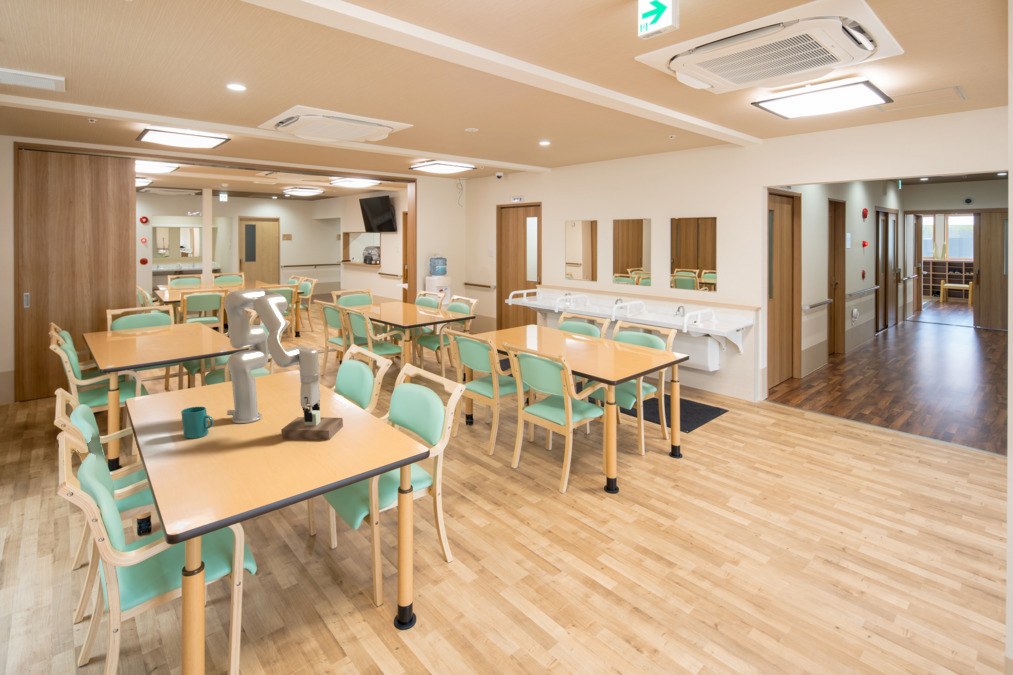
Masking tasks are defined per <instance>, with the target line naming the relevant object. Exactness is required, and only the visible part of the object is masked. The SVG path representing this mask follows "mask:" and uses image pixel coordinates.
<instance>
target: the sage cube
mask: <svg viewBox="0 0 1013 675" xmlns="http://www.w3.org/2000/svg"><path fill="white" fill-rule="evenodd" d="M311 412H312V422H305V421H304V424H305V425H311V426H316V425H318V424H319V423H320V422H321V419H320V417H321V409H320V410H312V409H311Z"/></svg>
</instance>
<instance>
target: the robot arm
mask: <svg viewBox="0 0 1013 675" xmlns="http://www.w3.org/2000/svg"><path fill="white" fill-rule="evenodd" d="M223 303H224V304H223V305H224V310H225V312H226V316H227V325H228V326H227V327H228V336H229V343H230V345H231V347H232V348H234V349H237V350H240V349H241V350H240V351H237V352H233V353H232V354H231V355H230V356H228V358H227V366H228V370H229V373H230V377H231V384H232V386H231V387H232V396H233V407H234V409H227V412H226V415H227V416H232V417H231V422H232V423H235V424H248V423H254V422H257V421H260V420H261V419H262V418H263V414H262V413H260V412H259V408H258V396H257V382H256V379H255V376H254V375H253V374H252V373H251V371H255V370H258V369H262V368H264V367H266V366H267V365H268V362H269V355H270V357H271V358H272V360H273V361H274V362H275V364H276V365H277V366H279V367H280V368H284V369H285V368H289V367H293V366H297V365H299V379H300V383H301V384H300V392H299V393H300V396H299V397H300V400H299V401H300V407H301V408H302V411H303V417H304V421H305V422H312V412H311V410H320V411H321V408H320V407H321V404H320V403H321V390H320V381H321V380H320V366H319V351H318V350H317V349H315V348H308V347H305V346H302V345H300V346H299V345H298V346H293V347H288V348H284V347H283V346H282V344H281V342H280V340H279V338H280V337H279V335H280V334H282V332H284V331H285V330H286V329H287V328H288V326H289V325H288V324H289V323H288V321H287V319H286V318H285V316H284V315H283V314H282V313H284V312H286V311H287V309H288V307H289V303H288V301H287V298H285V296H284V295H282V294H281V293H280V292H279V293H278V292H276V291H273V290H269V289H266V288H261V287H259V288H249V289H247V288H246V289H238V290H234V291H233V290H232V291H231V292H229V293H227V295H226V296H225V298H224V302H223ZM249 309H251V310H252V309H254V310H255V313H256V314H257V317H258V318H259V319H260V321H261V323H262V324H263V326H264V327H265V329H266V330H265V329H264V327H262V326H261V325H258V324H251V325H250V317H249V314H248V313H247V311H246V310H249ZM266 331H267V332H268V335H267V333H266ZM246 348H250V349H246ZM242 349H245V350H242Z"/></svg>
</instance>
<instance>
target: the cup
mask: <svg viewBox="0 0 1013 675" xmlns="http://www.w3.org/2000/svg"><path fill="white" fill-rule="evenodd" d="M180 414H181V421H182V423H181V424H182V430H183V432H182V433H183V437H184V438H185V439H188V438H195V439H199V437H201V438H203V436H204V437H206V436H207V435H208V434H209V431H210V430H209V429H211V428H212V427H213V425H214V419H213V418H212V416H210V415H208V413H207V408H206V407H205V406H191V407H187V408H184V409H181V412H180ZM208 420H209V421H208ZM208 422H210V424H209V423H208ZM205 435H206V436H205Z"/></svg>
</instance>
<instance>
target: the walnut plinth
mask: <svg viewBox="0 0 1013 675" xmlns="http://www.w3.org/2000/svg"><path fill="white" fill-rule="evenodd" d="M320 419H321V422H320V423H319V424H318V425H316V426H311V425H305V424H304V416H297V417H296V418H294V419H293V420H292V421H291V422H290V423H288V424H286V425H285V426H284V427H283V428H281V430H280V432H281V439H282V440H315V441H316V440H318V441H322V440H323V441H330V440H331V439H332V438H333V437H334V436H335V435H336V434H337V433H338V432H339V431H340V430H341V429H342V428H344V420H343V417H321V416H320Z"/></svg>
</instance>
